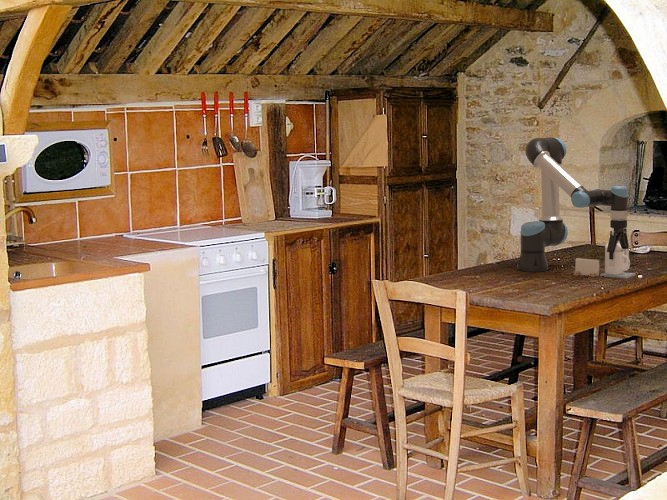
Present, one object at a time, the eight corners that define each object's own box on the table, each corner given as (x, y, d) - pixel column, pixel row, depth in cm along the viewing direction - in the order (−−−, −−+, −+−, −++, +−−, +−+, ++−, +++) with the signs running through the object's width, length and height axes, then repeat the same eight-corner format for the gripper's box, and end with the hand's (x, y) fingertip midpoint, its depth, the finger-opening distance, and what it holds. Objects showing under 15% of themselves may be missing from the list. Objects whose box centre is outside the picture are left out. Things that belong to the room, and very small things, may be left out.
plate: (599, 276, 444) (599, 274, 444) (609, 273, 452) (609, 271, 452) (626, 278, 436) (626, 276, 435) (635, 275, 444) (635, 273, 444)
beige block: (572, 275, 448) (572, 259, 447) (577, 273, 452) (577, 258, 451) (594, 277, 442) (594, 261, 441) (599, 275, 445) (599, 259, 444)
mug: (625, 276, 437) (626, 253, 435) (601, 273, 445) (601, 251, 443) (633, 273, 443) (634, 251, 441) (609, 271, 451) (610, 249, 449)
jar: (602, 267, 471) (602, 237, 469) (608, 264, 479) (609, 235, 477) (625, 268, 465) (625, 238, 463) (631, 266, 472) (631, 236, 471)
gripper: (616, 222, 428) (614, 268, 431) (636, 217, 448) (635, 261, 451) (600, 221, 433) (599, 267, 436) (621, 216, 452) (620, 260, 455)
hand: (617, 264), depth 443 cm, fingers open, 13 cm apart
